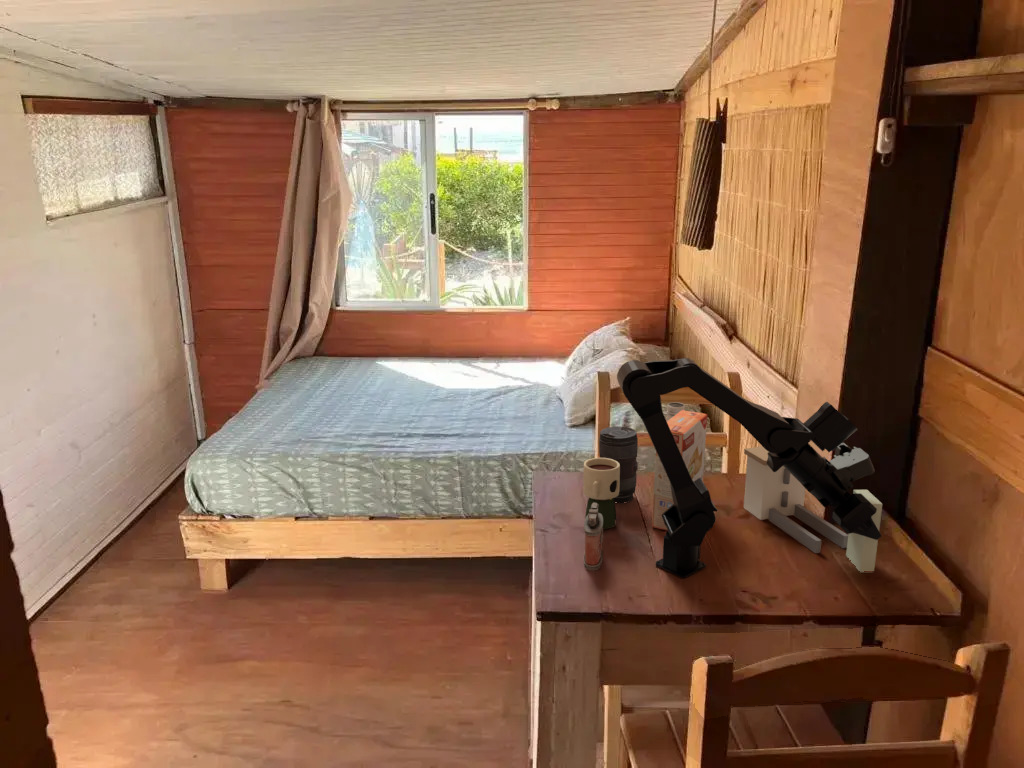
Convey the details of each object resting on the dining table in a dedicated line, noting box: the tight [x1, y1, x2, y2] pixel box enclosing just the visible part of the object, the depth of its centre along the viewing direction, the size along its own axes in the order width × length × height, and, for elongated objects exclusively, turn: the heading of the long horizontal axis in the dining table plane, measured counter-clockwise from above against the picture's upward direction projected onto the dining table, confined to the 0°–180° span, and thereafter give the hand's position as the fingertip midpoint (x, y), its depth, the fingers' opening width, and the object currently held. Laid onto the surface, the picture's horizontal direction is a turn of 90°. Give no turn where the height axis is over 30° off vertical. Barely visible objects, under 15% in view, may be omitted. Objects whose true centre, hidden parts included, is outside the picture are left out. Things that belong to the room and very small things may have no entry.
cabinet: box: [743, 445, 848, 554], centre depth 151 cm, size 11×22×13 cm, turn 17°
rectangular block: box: [845, 489, 883, 573], centre depth 137 cm, size 2×6×13 cm, turn 0°
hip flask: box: [583, 503, 604, 571], centre depth 140 cm, size 8×3×10 cm, turn 170°
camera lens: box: [598, 425, 639, 504], centre depth 165 cm, size 8×8×15 cm
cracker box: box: [651, 409, 708, 531], centre depth 154 cm, size 14×6×21 cm, turn 148°
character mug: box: [582, 457, 620, 530], centre depth 153 cm, size 11×7×13 cm, turn 161°
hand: (867, 525), depth 136 cm, fingers open, 9 cm apart
